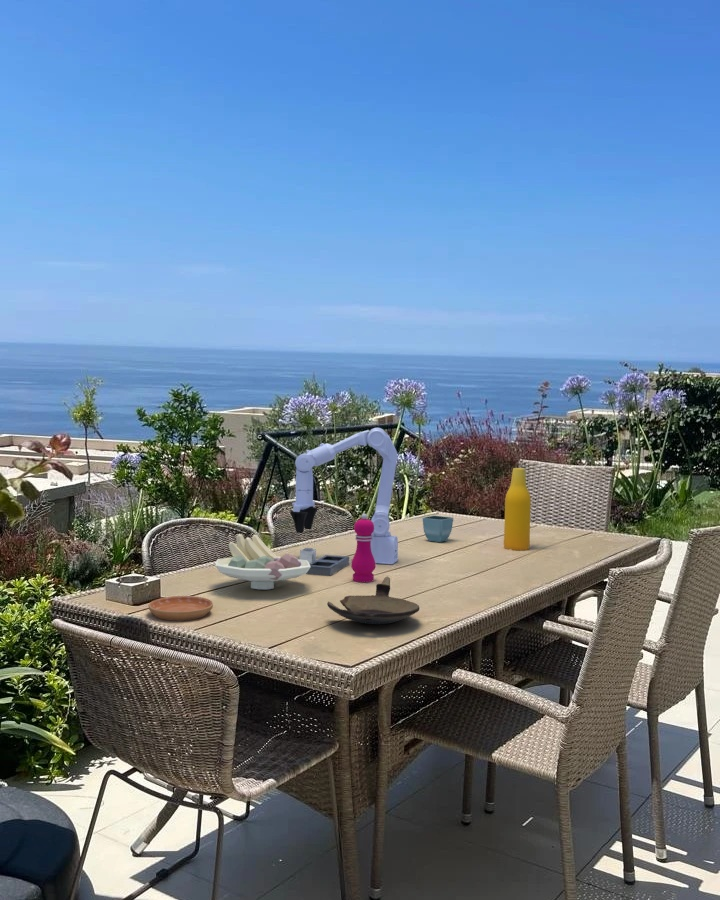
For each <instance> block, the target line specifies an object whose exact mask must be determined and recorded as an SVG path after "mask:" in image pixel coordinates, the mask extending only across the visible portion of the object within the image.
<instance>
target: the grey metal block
mask: <svg viewBox="0 0 720 900" xmlns="http://www.w3.org/2000/svg"><path fill="white" fill-rule="evenodd" d="M299 559H302V560H307V561H308V562H309V564H310V563H312V562H314V561H316V560H317V549H315V548H311V547H305V548H302V549H301V550H300V551H299Z"/></svg>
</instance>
